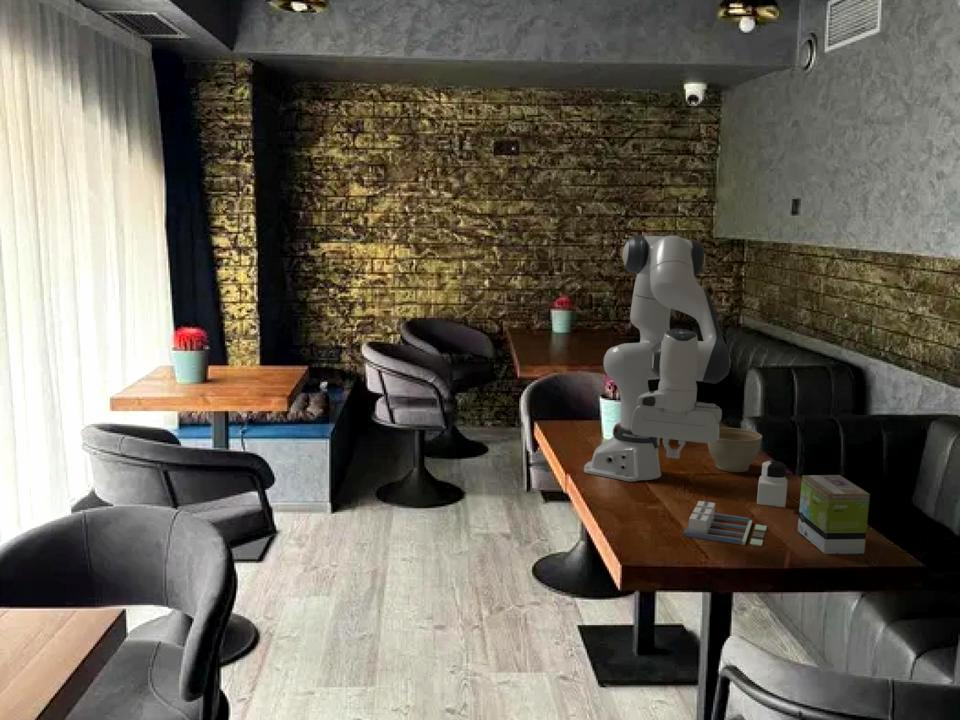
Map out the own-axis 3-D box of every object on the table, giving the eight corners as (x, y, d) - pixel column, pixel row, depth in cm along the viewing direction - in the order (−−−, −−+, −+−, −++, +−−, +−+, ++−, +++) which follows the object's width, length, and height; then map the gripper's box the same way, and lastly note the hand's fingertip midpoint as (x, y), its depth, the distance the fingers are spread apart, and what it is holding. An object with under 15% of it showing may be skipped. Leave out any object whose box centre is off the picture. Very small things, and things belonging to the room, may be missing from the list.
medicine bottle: (785, 504, 246) (789, 460, 244) (784, 512, 239) (788, 467, 237) (757, 500, 248) (761, 457, 246) (756, 508, 241) (759, 464, 239)
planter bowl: (699, 460, 288) (702, 426, 286) (751, 462, 288) (754, 428, 286) (710, 474, 272) (713, 439, 270) (765, 477, 272) (768, 441, 270)
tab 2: (688, 534, 215) (689, 517, 215) (690, 529, 219) (691, 512, 218) (705, 537, 214) (706, 520, 213) (707, 532, 218) (709, 515, 217)
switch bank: (662, 538, 216) (663, 528, 216) (676, 516, 233) (676, 507, 232) (764, 554, 208) (765, 544, 208) (770, 530, 225) (771, 520, 224)
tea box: (795, 532, 224) (800, 473, 222) (835, 532, 225) (840, 473, 222) (823, 555, 209) (829, 492, 207) (865, 554, 210) (872, 492, 208)
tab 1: (695, 521, 226) (696, 504, 225) (697, 516, 229) (698, 500, 229) (711, 523, 224) (713, 507, 223) (714, 518, 228) (715, 502, 227)
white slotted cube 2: (691, 527, 221) (692, 511, 220) (694, 522, 224) (695, 506, 224) (708, 530, 219) (709, 513, 218) (711, 525, 223) (712, 508, 222)
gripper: (724, 401, 213) (719, 459, 215) (636, 393, 221) (633, 449, 223) (720, 406, 208) (716, 466, 210) (631, 397, 215) (627, 455, 217)
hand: (673, 457), depth 216 cm, fingers closed
